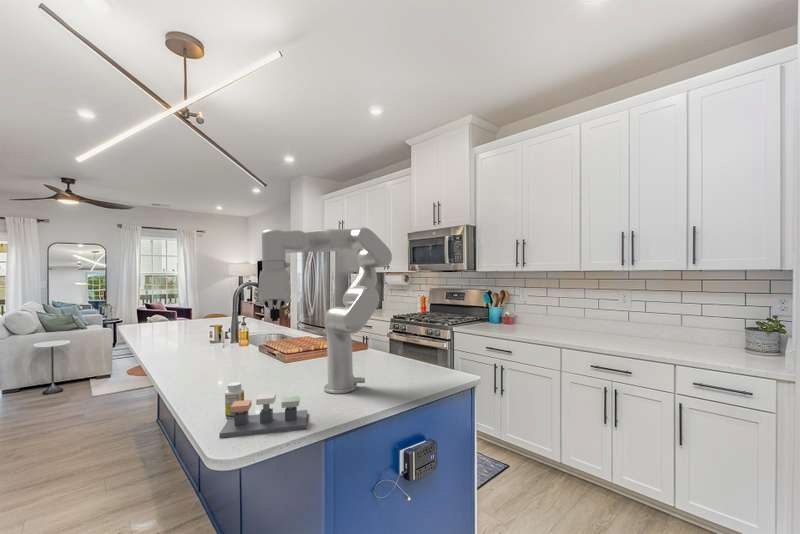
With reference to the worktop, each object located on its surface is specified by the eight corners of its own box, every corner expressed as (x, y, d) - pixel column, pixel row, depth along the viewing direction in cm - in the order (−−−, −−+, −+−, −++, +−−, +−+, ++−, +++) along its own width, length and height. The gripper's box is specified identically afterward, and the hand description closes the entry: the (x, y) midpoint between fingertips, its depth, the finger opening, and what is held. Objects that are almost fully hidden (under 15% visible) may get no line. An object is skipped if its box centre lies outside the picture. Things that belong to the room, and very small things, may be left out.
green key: (299, 410, 115) (299, 395, 115) (298, 416, 110) (298, 400, 110) (283, 412, 114) (283, 397, 114) (281, 418, 109) (281, 402, 109)
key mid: (275, 408, 113) (275, 392, 113) (273, 413, 109) (273, 397, 109) (259, 409, 112) (259, 394, 112) (256, 415, 108) (256, 399, 108)
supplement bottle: (239, 411, 122) (238, 380, 122) (247, 415, 118) (247, 383, 118) (222, 416, 118) (221, 384, 118) (230, 421, 114) (229, 387, 114)
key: (251, 415, 112) (251, 399, 112) (248, 421, 107) (248, 405, 107) (234, 416, 111) (234, 401, 111) (230, 423, 106) (230, 406, 106)
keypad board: (307, 413, 119) (307, 400, 119) (305, 428, 107) (305, 414, 107) (230, 421, 114) (230, 407, 114) (219, 437, 102) (219, 422, 102)
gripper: (297, 266, 131) (298, 318, 131) (252, 267, 128) (253, 320, 128) (296, 265, 124) (297, 321, 123) (248, 266, 121) (249, 323, 120)
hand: (275, 320), depth 126 cm, fingers closed
